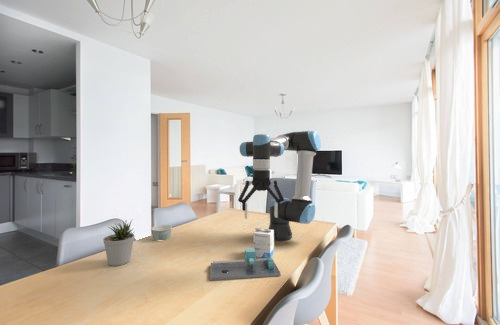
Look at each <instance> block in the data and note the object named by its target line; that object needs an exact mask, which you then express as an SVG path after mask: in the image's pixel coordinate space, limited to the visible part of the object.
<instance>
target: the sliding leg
mask: <svg viewBox="0 0 500 325" xmlns="http://www.w3.org/2000/svg"><path fill="white" fill-rule="evenodd" d="M255 259H256V257H255V250H254V247H253V248H245V249H244V260H246V262H248V261H249V264H251V269H253V264H255Z"/></svg>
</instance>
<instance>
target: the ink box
mask: <svg viewBox="0 0 500 325" xmlns="http://www.w3.org/2000/svg"><path fill="white" fill-rule="evenodd" d="M252 240H253V242H252V243H253V248H254V250H255V258H261V259H262V258H269V257H271V258H273V257H272V256H273V255H274V253H275V240H274V230H270V229H268V228H258V227H255V231H254V232H253V239H252Z"/></svg>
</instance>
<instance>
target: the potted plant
mask: <svg viewBox="0 0 500 325" xmlns="http://www.w3.org/2000/svg"><path fill="white" fill-rule="evenodd" d="M127 221H128V220H127V219H125V221H124V220H123V219H122V223H123V226H122V224H121V223H119V222H118V223H114V224H115V226H113V225H110V226H108V228H109V230H111V231H113V233H114V234H109V235H107V236H105V237H104V238H103V239H102V240H103V244H104V248H105V254H106V260H107V263H108V265H110V266H111V267H112V266H114V267H117V266H123V265H125V264H127V263H130V261H131V257H132V251H133V247H134V246H133V245H134V240H135V234H134V233H135V231H133V230H134V228H132V229H131V223H132V221H133V219H131V220H130V222H129V223H127ZM117 225H118V226H117ZM132 231H133V232H132Z"/></svg>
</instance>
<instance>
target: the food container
mask: <svg viewBox="0 0 500 325" xmlns="http://www.w3.org/2000/svg"><path fill="white" fill-rule="evenodd" d="M172 228H173V226H172V225H169V224H160V225H154V226H152V227H151V228H150V231H151V234H152V238H153V239H154V240H153V241H155V240H164V241H167V239H168V240H170V238H171V233H172Z"/></svg>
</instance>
